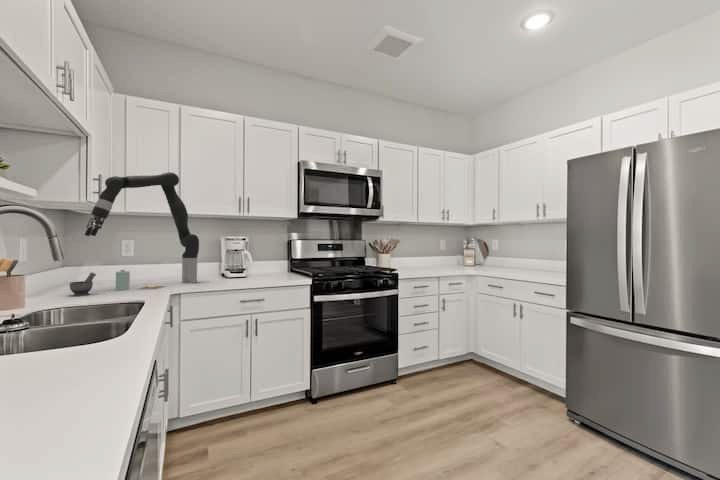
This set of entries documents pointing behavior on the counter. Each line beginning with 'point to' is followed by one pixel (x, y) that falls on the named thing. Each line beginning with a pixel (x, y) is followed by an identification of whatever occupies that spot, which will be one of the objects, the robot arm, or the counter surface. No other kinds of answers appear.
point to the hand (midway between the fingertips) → (89, 235)
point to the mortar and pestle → (82, 286)
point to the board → (153, 288)
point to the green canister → (122, 280)
